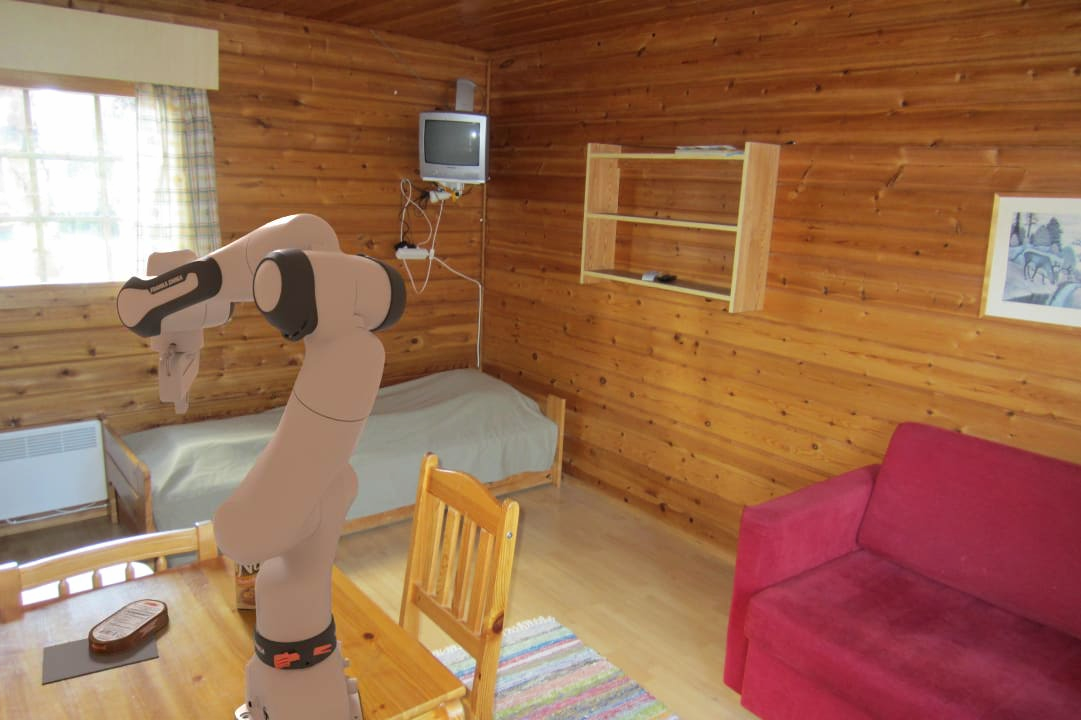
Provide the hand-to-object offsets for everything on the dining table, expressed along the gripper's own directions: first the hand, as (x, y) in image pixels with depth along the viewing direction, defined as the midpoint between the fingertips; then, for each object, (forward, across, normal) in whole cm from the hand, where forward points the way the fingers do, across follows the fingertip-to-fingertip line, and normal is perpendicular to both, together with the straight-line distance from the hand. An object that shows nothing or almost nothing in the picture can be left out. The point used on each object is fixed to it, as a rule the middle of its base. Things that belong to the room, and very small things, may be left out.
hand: (182, 411), depth 150 cm
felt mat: (+37, -18, +12) cm, 43 cm away
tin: (+35, -10, +13) cm, 39 cm away
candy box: (+37, -7, -13) cm, 40 cm away
